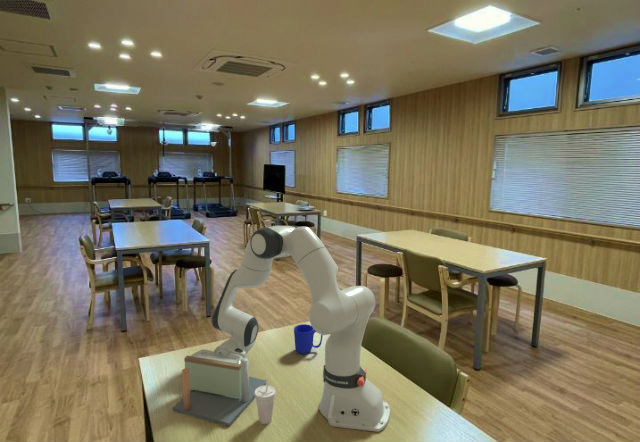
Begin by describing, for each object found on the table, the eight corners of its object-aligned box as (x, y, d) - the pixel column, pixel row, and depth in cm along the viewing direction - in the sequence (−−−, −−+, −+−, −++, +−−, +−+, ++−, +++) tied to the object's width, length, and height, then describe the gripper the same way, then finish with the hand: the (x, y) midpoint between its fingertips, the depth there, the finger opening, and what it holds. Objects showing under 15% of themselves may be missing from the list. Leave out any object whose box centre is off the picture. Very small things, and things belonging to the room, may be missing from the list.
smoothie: (272, 428, 113) (271, 385, 111) (251, 425, 114) (250, 382, 112) (278, 415, 119) (278, 373, 117) (259, 412, 121) (258, 370, 118)
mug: (322, 356, 156) (322, 333, 154) (293, 355, 156) (293, 332, 154) (322, 346, 164) (323, 324, 162) (294, 346, 164) (294, 323, 163)
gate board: (267, 383, 136) (267, 343, 134) (229, 426, 114) (228, 379, 111) (217, 372, 143) (216, 333, 141) (172, 410, 121) (170, 365, 119)
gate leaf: (242, 395, 126) (241, 364, 124) (239, 398, 124) (238, 367, 122) (188, 385, 131) (187, 355, 129) (185, 388, 129) (184, 358, 128)
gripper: (202, 342, 145) (177, 359, 132) (249, 352, 138) (227, 372, 125) (203, 357, 146) (177, 376, 133) (249, 368, 139) (227, 389, 126)
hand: (202, 374), depth 129 cm, fingers closed
